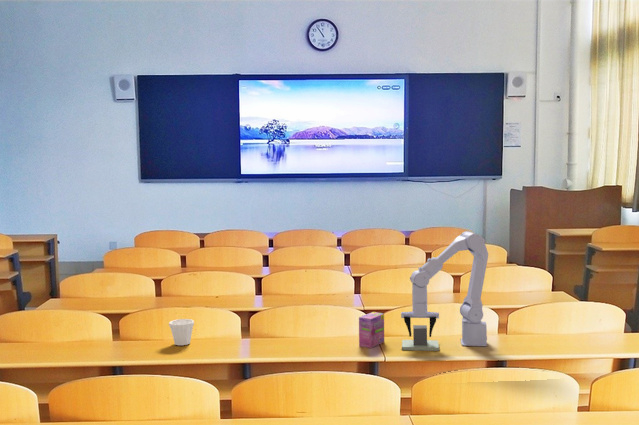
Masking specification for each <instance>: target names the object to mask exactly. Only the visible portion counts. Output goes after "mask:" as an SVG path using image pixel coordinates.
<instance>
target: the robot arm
mask: <svg viewBox="0 0 639 425" xmlns="http://www.w3.org/2000/svg"><path fill="white" fill-rule="evenodd" d="M485 242H486V240H485V238H483V236H482V235H480V234H479V233H474V232H472V231H469V230H467V231H463V232H462V233H460V235H457V236H456V237H455V239H454V240H453V241H452V242H451V243H450V244H449V245H448V246H447V247H446V248H445V249H444V250H443V251H442V252H441V253H440V254H439V255H438V256H436V257H434V256H433V257H431V258H430V257H429V258H427V261H426V263H424V264H423V265H422V266H421V267H420V266H419V267H418V270H414V271H413V272H412V273H411V275H410V277H409V281H410V282H411V284H412V286H411V287H412V292H411V293H412V295H411V297H412V300H411V301H412V306H411V307H412V311H401V312H400V318H401V319H403V321H404V323H405V325H406V328H407V331H408V334H409V335H408V336H409V337H412V328H411V327H412V326H411V323H412V322H411V319H414V318H415V319H417V318H418V319H429V330H428V331H429V332H428V337H429V338H432V333H433V329H434V327H435V324H436V323H437V319H438V320H439V319H440V312H435V311H428V285H429V283H430V280H431V279H433V277H435V276H436V275H437V273H439V272H440V271H441V270H442V269H443V267H444V263H446V262H447V261H449V259H450V258H452V257H454V255H456V254H457V253H458V252H460V251H469V253H471V255H472V256H473V259H472V266H471V270H470V271H471V272H470V277H469V283H468V288H467V294H466V296H465V297H464V298H463V302H462V304H461V305H460V307H459V313H460V315H461V316H462V319H461V337H462V338H461V339H460V343H461V346H462V347H463V346H464V347H466V346H467V347H468V346H469V347H487V346H488V345H487V343H488V342H487V341H488V335H487V334H488V333H487V332H488V331H487V330H488V329H487V322H486V321H483V318H484V312H483V302H482V292H483V287H484V282H485V277H486V275H485V274H486V270H487V265H488V259H489V252H488V249H487V246H486V243H485Z"/></svg>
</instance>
